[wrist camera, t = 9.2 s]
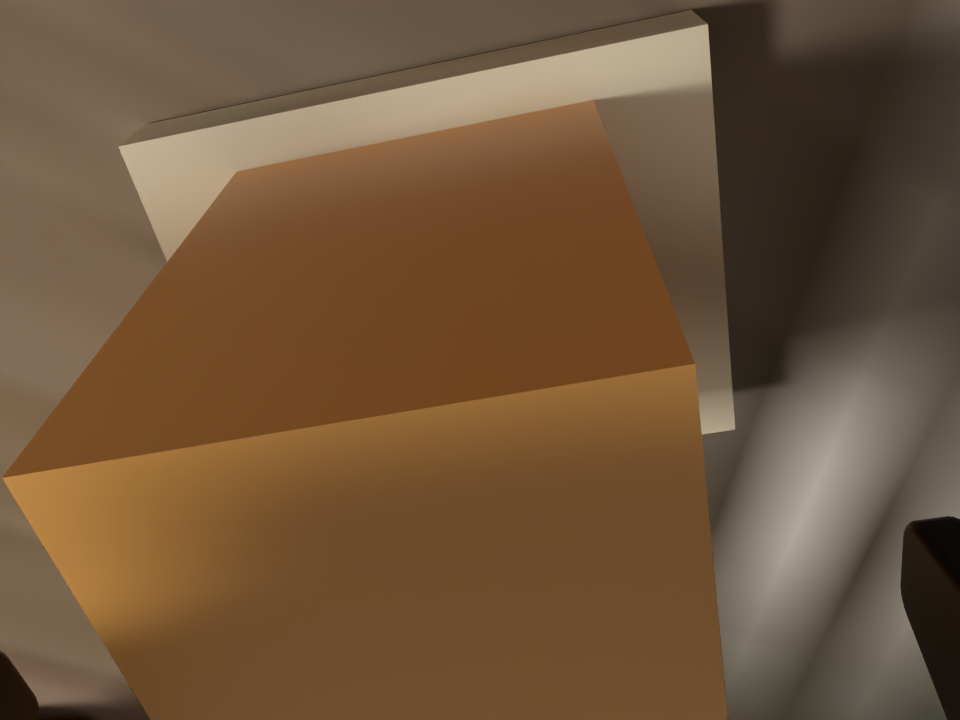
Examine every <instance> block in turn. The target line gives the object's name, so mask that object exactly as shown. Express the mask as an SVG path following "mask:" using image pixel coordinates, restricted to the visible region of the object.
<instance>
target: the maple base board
mask: <svg viewBox="0 0 960 720" xmlns="http://www.w3.org/2000/svg"><path fill="white" fill-rule="evenodd" d="M589 100H593V101H594V103H595V106H596V109H597V111H598V114H599V116H600V119H601V121H602V124H603V127H604V129H605V132H606V134H607V137H608V140H609V142H610V145H611V147H612V150H613V152H614V155H615V158H616V160H617V163H618V165H619V168H620V171H621V173H622V176H623V178H624V181H625V183H626V186H627V189H628V191H629V194H630V196H631V199H632V202H633V204H634V207H635V209H636V212H637V215H638V217H639V220H640V222H641V225H642V227H643V230H644V233H645V235H646V238H647V240H648V243H649V246H650V248H651V251H652V253H653V256H654V258H655V261H656V264H657V266H658V269H659V271H660V274H661V277H662V279H663V282H664V284H665V287H666V289H667V292H668V295H669V297H670V300H671V302H672V305H673V308H674V310H675V313H676V315H677V318H678V320H679V323H680V326H681V328H682V331H683V333H684V336H685V339H686V341H687V344H688V346H689V349H690V351H691V354H692V357H693V359H694V362H695V367H696V377H697V388H698V399H699V410H700V421H701V432H702V434H708V433H715V432H721V431H728V430H734V429H735V420H734V405H733V390H732V376H731V361H730V346H729V331H728V316H727V301H726V286H725V271H724V256H723V242H722V227H721V212H720V197H719V182H718V167H717V152H716V137H715V122H714V108H713V93H712V78H711V63H710V48H709V33H708V24H707V23H706V22H705V21H704V20H703V19H701V18H700V17H699V16H698V15H697V14H696V13H694V12H693V11H692V10H688V11H683V12H678V13H674V14H669V15H664V16H659V17H655V18H650V19H645V20H640V21H636V22H631V23H626V24H621V25H617V26H612V27H607V28H602V29H598V30H593V31H588V32H583V33H578V34H574V35H569V36H564V37H559V38H555V39H550V40H545V41H540V42H536V43H531V44H526V45H521V46H517V47H512V48H507V49H502V50H498V51H493V52H488V53H483V54H479V55H474V56H469V57H464V58H459V59H455V60H450V61H445V62H440V63H436V64H431V65H426V66H421V67H417V68H412V69H407V70H402V71H398V72H393V73H388V74H383V75H379V76H374V77H369V78H364V79H359V80H355V81H350V82H345V83H340V84H336V85H331V86H326V87H321V88H317V89H312V90H307V91H302V92H298V93H293V94H288V95H283V96H279V97H274V98H269V99H264V100H260V101H255V102H250V103H245V104H240V105H236V106H231V107H226V108H221V109H217V110H212V111H207V112H202V113H198V114H193V115H188V116H183V117H179V118H174V119H169V120H164V121H160V122H155V123H150V124H145V125H144V126H143V127H141V128H140V129H139V130H138V131H137V132H135V133H134V134H133V135H132V136H131V137H129V138H128V139H127V140H126V141H125V142H123V143H122V144H121V145H120V146H118V147H119V149H120V151H121V154H122V156H123V158H124V161H125V163H126V166H127V168H128V170H129V173H130V175H131V177H132V180H133V182H134V184H135V187H136V189H137V192H138V194H139V196H140V199H141V201H142V203H143V206H144V208H145V210H146V213H147V215H148V217H149V220H150V222H151V225H152V227H153V229H154V232H155V234H156V236H157V239H158V241H159V243H160V246H161V248H162V251H163V253H164V255H165V258H166V260H167V262H168V260H169V259H170V258H171V257H172V255H173V254H174V253H175V251H176V250H177V249H178V247H179V246H180V245H181V244H182V242H183V241H184V240H185V238H186V237H187V236H188V234H189V233H190V232H191V230H192V229H193V228H194V227H195V225H196V224H197V223H198V221H199V220H200V219H201V217H202V216H203V215H204V213H205V212H206V211H207V210H208V208H209V207H210V206H211V204H212V203H213V202H214V200H215V199H216V198H217V196H218V195H219V194H220V193H221V191H222V190H223V189H224V187H225V186H226V185H227V183H228V182H229V181H230V179H231V178H232V177H233V176H234V174H235V173H236V172H237V171H242V170H247V169H251V168H256V167H261V166H266V165H271V164H276V163H281V162H286V161H291V160H296V159H301V158H306V157H311V156H316V155H321V154H326V153H331V152H336V151H341V150H346V149H351V148H356V147H361V146H366V145H371V144H376V143H381V142H386V141H391V140H395V139H400V138H405V137H410V136H415V135H420V134H425V133H430V132H435V131H440V130H445V129H450V128H455V127H460V126H465V125H470V124H475V123H480V122H485V121H490V120H495V119H500V118H505V117H510V116H515V115H520V114H525V113H530V112H535V111H539V110H544V109H549V108H554V107H559V106H564V105H569V104H574V103H579V102H584V101H589Z"/></svg>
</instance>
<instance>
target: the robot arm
mask: <svg viewBox="0 0 960 720" xmlns="http://www.w3.org/2000/svg"><path fill="white" fill-rule="evenodd" d="M901 595H902V600H903V604H904V608H905V611H906V614H907V616H908V619H909V622H910V624H911V627H912V629H913V632H914V635H915V637H916V640H917V642H918V645H919V648H920V650H921V653H922V655H923V658H924V661H925V663H926V666H927V668H928V671H929V674H930V676H931V679H932V681H933V684H934V687H935V689H936V692H937V694H938V697H939V700H940V702H941V705H942V707H943V710H944V713H945V715H946V718H947V720H960V519H958V518H955V517H950V516H946V517H939V518H931V519H924V520H917V521H913V522H910V523H909V524H908V525H907V526H906V528H905V531H904V535H903V551H902V568H901ZM0 720H39V706H38V702H37V699H36V697H35V695H34V693H33V692H32V691H31V689H30V688H29V686H28V685H27V683H26V682H25V681H24V679H23V678H22V676H21V675H20V674H19V672H18V671H17V669H16V668H15V666H14V665H13V664H12V662H11V661H10V659H9V658H8V657H7V656H6V654H5V653H3V652H2V651H0Z"/></svg>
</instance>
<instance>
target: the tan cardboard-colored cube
mask: <svg viewBox="0 0 960 720" xmlns="http://www.w3.org/2000/svg"><path fill="white" fill-rule="evenodd" d="M2 479H3V480H4V482H5V484H6V485H7V487H8V488H9V490H10V492H11V493H12V495H13V497H14V498H15V500H16V501H17V503H18V505H19V506H20V508H21V510H22V511H23V513H24V514H25V516H26V518H27V519H28V521H29V523H30V524H31V526H32V527H33V529H34V531H35V532H36V534H37V536H38V537H39V539H40V540H41V542H42V544H43V545H44V547H45V549H46V550H47V552H48V553H49V555H50V557H51V558H52V560H53V562H54V563H55V565H56V567H57V568H58V570H59V571H60V573H61V575H62V576H63V578H64V580H65V581H66V583H67V584H68V586H69V588H70V589H71V591H72V593H73V594H74V596H75V597H76V599H77V601H78V602H79V604H80V606H81V607H82V609H83V610H84V612H85V614H86V615H87V617H88V619H89V620H90V622H91V623H92V625H93V627H94V628H95V630H96V632H97V633H98V635H99V636H100V638H101V640H102V641H103V643H104V645H105V646H106V648H107V649H108V651H109V653H110V654H111V656H112V658H113V659H114V661H115V662H116V664H117V666H118V667H119V669H120V671H121V672H122V674H123V675H124V677H125V679H126V680H127V682H128V684H129V685H130V687H131V689H132V690H133V692H134V693H135V695H136V697H137V698H138V700H139V702H140V703H141V705H142V706H143V708H144V710H145V711H146V713H147V715H148V716H149V718H150V719H151V720H728V715H727V704H726V693H725V682H724V671H723V660H722V650H721V639H720V628H719V617H718V606H717V595H716V584H715V573H714V562H713V552H712V541H711V530H710V519H709V508H708V497H707V486H706V475H705V464H704V454H703V443H702V432H701V421H700V410H699V399H698V388H697V377H696V367H695V362H694V359H693V357H692V354H691V351H690V349H689V346H688V344H687V341H686V339H685V336H684V333H683V331H682V328H681V326H680V323H679V320H678V318H677V315H676V313H675V310H674V308H673V305H672V302H671V300H670V297H669V295H668V292H667V289H666V287H665V284H664V282H663V279H662V277H661V274H660V271H659V269H658V266H657V264H656V261H655V258H654V256H653V253H652V251H651V248H650V246H649V243H648V240H647V238H646V235H645V233H644V230H643V227H642V225H641V222H640V220H639V217H638V215H637V212H636V209H635V207H634V204H633V202H632V199H631V196H630V194H629V191H628V189H627V186H626V183H625V181H624V178H623V176H622V173H621V171H620V168H619V165H618V163H617V160H616V158H615V155H614V152H613V150H612V147H611V145H610V142H609V140H608V137H607V134H606V132H605V129H604V127H603V124H602V121H601V119H600V116H599V114H598V111H597V109H596V106H595V103H594V101H593V100H589V101H584V102H579V103H574V104H569V105H564V106H559V107H554V108H549V109H544V110H539V111H535V112H530V113H525V114H520V115H515V116H510V117H505V118H500V119H495V120H490V121H485V122H480V123H475V124H470V125H465V126H460V127H455V128H450V129H445V130H440V131H435V132H430V133H425V134H420V135H415V136H410V137H405V138H400V139H395V140H391V141H386V142H381V143H376V144H371V145H366V146H361V147H356V148H351V149H346V150H341V151H336V152H331V153H326V154H321V155H316V156H311V157H306V158H301V159H296V160H291V161H286V162H281V163H276V164H271V165H266V166H261V167H256V168H251V169H247V170H242V171H237V172H236V173H235V174H234V176H233V177H232V178H231V179H230V181H229V182H228V183H227V185H226V186H225V187H224V189H223V190H222V191H221V193H220V194H219V195H218V196H217V198H216V199H215V200H214V202H213V203H212V204H211V206H210V207H209V208H208V210H207V211H206V212H205V213H204V215H203V216H202V217H201V219H200V220H199V221H198V223H197V224H196V225H195V227H194V228H193V229H192V230H191V232H190V233H189V234H188V236H187V237H186V238H185V240H184V241H183V242H182V244H181V245H180V246H179V247H178V249H177V250H176V251H175V253H174V254H173V255H172V257H171V258H170V259H169V260H168V262H167V263H166V264H165V266H164V267H163V268H162V270H161V271H160V272H159V274H158V275H157V276H156V277H155V279H154V280H153V281H152V283H151V284H150V285H149V287H148V288H147V289H146V291H145V292H144V293H143V294H142V296H141V297H140V298H139V300H138V301H137V302H136V304H135V305H134V306H133V308H132V309H131V310H130V311H129V313H128V314H127V315H126V317H125V318H124V319H123V321H122V322H121V323H120V325H119V326H118V327H117V328H116V330H115V331H114V332H113V334H112V335H111V336H110V338H109V339H108V340H107V342H106V343H105V344H104V345H103V347H102V348H101V349H100V351H99V352H98V353H97V355H96V356H95V357H94V359H93V360H92V361H91V362H90V364H89V365H88V366H87V368H86V369H85V370H84V372H83V373H82V374H81V376H80V377H79V378H78V379H77V381H76V382H75V383H74V385H73V386H72V387H71V389H70V390H69V391H68V393H67V394H66V395H65V396H64V398H63V399H62V400H61V402H60V403H59V404H58V406H57V407H56V408H55V410H54V411H53V412H52V413H51V415H50V416H49V417H48V419H47V420H46V421H45V423H44V424H43V425H42V426H41V428H40V429H39V430H38V432H37V433H36V434H35V436H34V437H33V438H32V440H31V441H30V442H29V443H28V445H27V446H26V447H25V449H24V450H23V451H22V453H21V454H20V455H19V457H18V458H17V459H16V460H15V462H14V463H13V464H12V466H11V467H10V468H9V470H8V471H7V472H6V474H5V475H4V476H3V477H2Z"/></svg>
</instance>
